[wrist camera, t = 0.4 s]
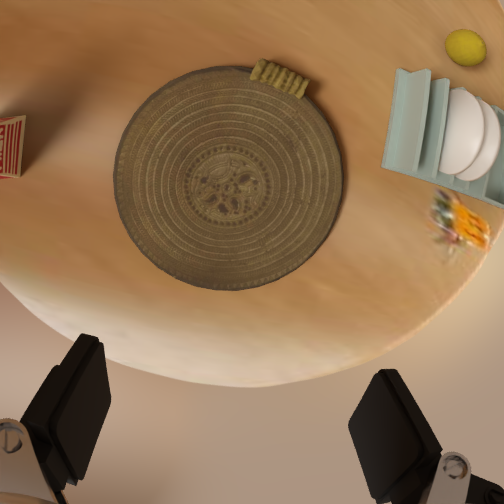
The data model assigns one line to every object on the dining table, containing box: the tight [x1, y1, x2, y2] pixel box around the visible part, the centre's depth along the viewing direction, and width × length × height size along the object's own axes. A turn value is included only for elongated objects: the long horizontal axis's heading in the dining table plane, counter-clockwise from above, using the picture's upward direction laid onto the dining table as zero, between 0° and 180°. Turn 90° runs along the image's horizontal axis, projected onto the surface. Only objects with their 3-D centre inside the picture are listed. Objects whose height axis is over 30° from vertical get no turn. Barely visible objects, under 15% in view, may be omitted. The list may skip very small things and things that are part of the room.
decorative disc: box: [113, 58, 344, 291], centre depth 36 cm, size 29×3×30 cm
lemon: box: [445, 29, 487, 66], centre depth 27 cm, size 6×6×8 cm
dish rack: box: [381, 68, 504, 209], centre depth 30 cm, size 14×24×12 cm, turn 81°
